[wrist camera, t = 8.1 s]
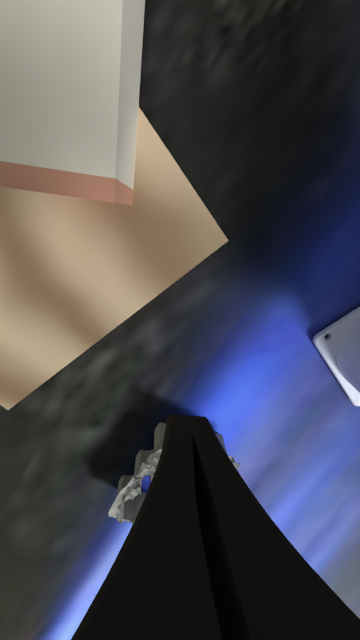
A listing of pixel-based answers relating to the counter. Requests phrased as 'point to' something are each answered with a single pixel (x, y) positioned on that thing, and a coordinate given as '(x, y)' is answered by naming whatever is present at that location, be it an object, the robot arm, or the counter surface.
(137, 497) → the egg carton
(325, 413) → the counter surface
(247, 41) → the counter surface
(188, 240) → the wooden board
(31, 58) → the cream block
